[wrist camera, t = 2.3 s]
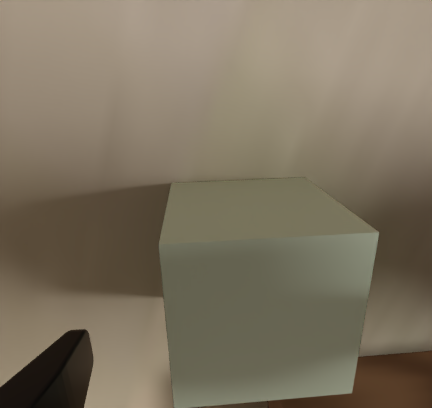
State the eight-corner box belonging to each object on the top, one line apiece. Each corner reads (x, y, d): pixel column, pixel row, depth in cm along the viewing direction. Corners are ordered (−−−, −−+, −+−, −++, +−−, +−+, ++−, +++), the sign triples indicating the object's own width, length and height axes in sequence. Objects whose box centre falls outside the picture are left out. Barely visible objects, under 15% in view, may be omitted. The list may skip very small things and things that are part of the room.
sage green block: (304, 176, 12) (379, 232, 7) (295, 288, 14) (351, 393, 9) (171, 182, 12) (158, 244, 7) (179, 296, 13) (174, 409, 8)
